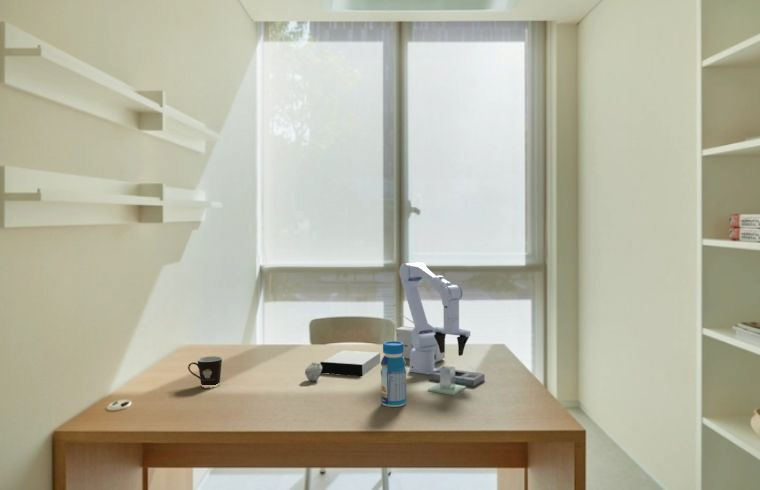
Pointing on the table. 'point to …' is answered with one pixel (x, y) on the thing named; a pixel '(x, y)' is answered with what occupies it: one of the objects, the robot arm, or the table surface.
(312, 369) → the frog figurine
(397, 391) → the beverage bottle
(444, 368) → the steel peg
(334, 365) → the disc drive
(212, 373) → the coffee mug
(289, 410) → the table surface
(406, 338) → the stereo radio cassette player
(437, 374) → the plate with square hole
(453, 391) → the rubber pad
